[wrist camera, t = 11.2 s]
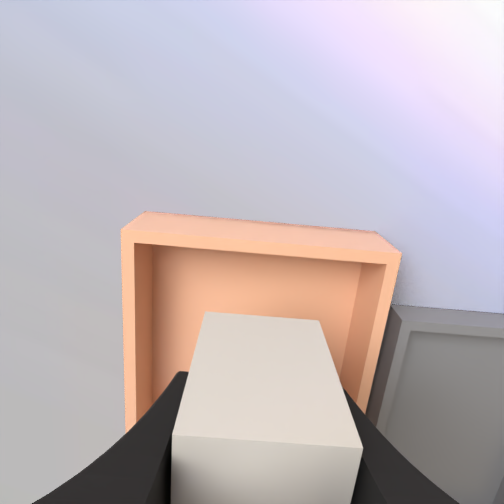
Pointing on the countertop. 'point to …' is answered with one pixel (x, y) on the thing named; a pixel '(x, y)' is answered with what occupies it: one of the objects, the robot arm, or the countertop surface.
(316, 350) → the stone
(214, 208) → the countertop surface
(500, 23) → the countertop surface
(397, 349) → the stone tray
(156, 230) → the bin
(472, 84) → the countertop surface
